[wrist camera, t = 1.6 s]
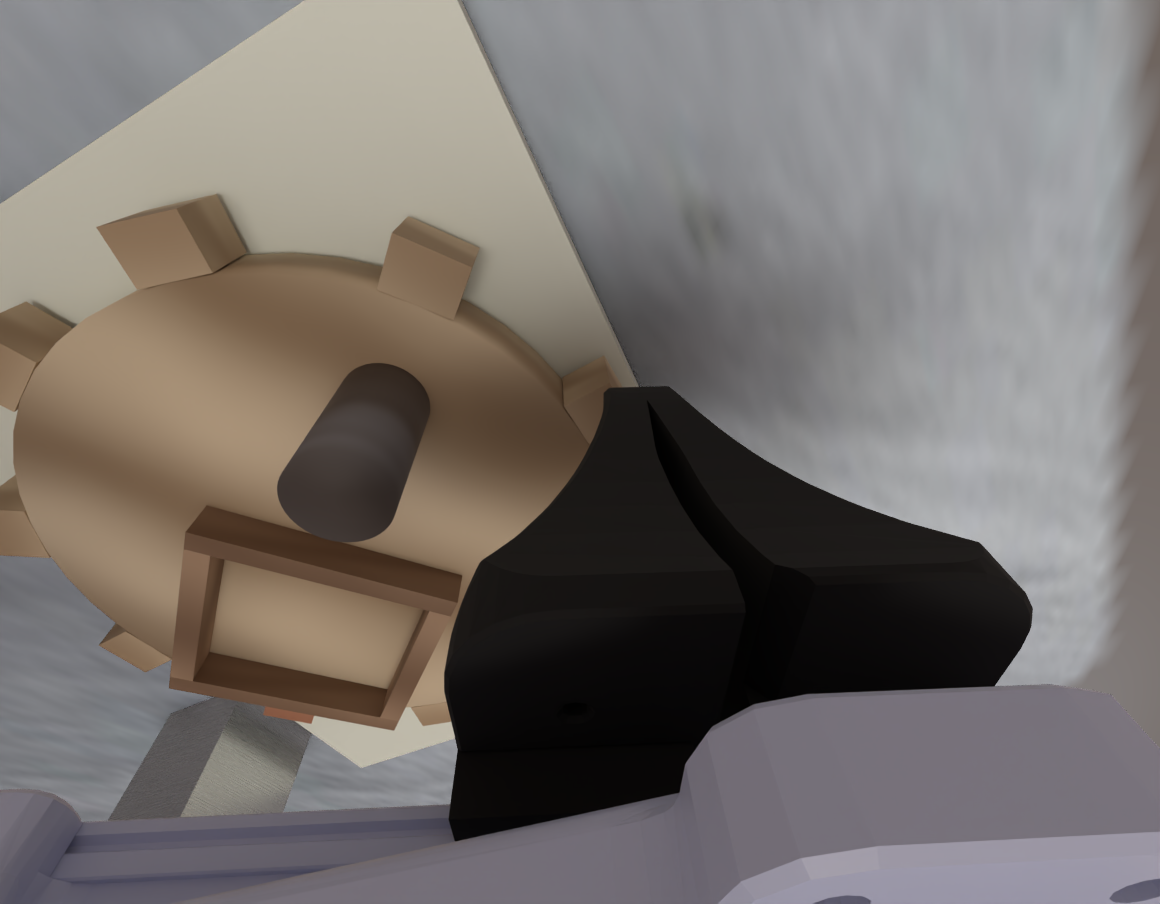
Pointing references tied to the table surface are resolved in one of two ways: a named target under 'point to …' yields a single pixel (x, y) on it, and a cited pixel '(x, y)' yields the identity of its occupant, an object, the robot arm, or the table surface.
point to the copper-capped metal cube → (216, 764)
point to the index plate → (325, 195)
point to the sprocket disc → (284, 460)
